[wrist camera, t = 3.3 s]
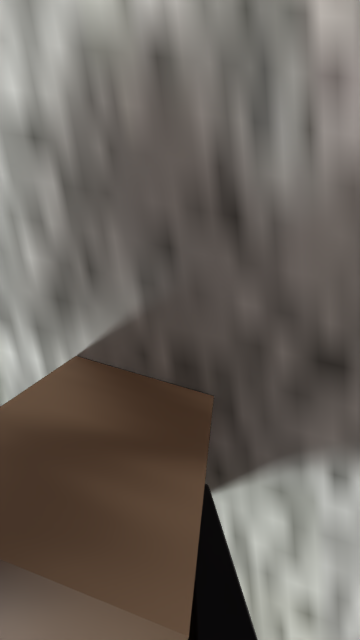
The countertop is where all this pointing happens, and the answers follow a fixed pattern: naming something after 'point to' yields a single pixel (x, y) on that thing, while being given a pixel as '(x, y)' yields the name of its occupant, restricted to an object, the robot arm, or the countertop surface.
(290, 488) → the countertop surface
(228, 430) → the countertop surface
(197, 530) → the brown block
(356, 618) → the countertop surface
